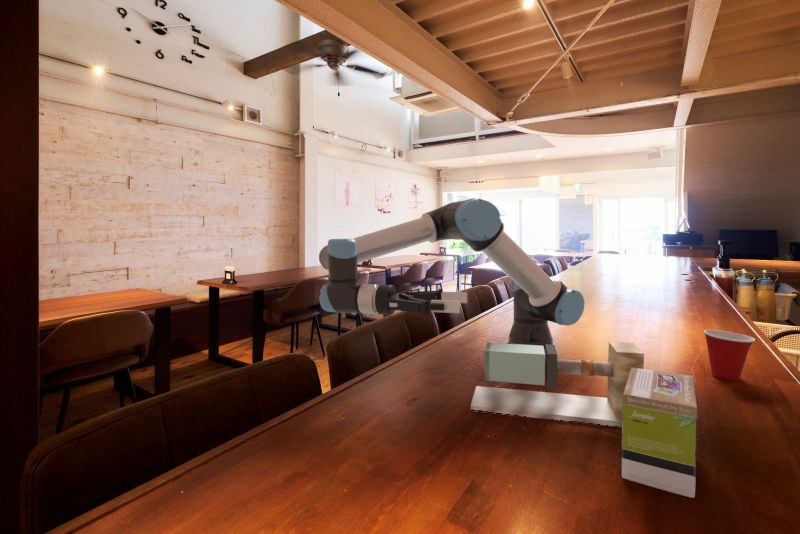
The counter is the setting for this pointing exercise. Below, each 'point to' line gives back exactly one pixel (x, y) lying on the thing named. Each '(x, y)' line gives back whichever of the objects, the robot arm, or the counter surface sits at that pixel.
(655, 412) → the tea box
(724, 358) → the plastic cup
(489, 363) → the sleeve
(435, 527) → the counter surface
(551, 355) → the dark grey square plate
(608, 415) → the pipe stand
